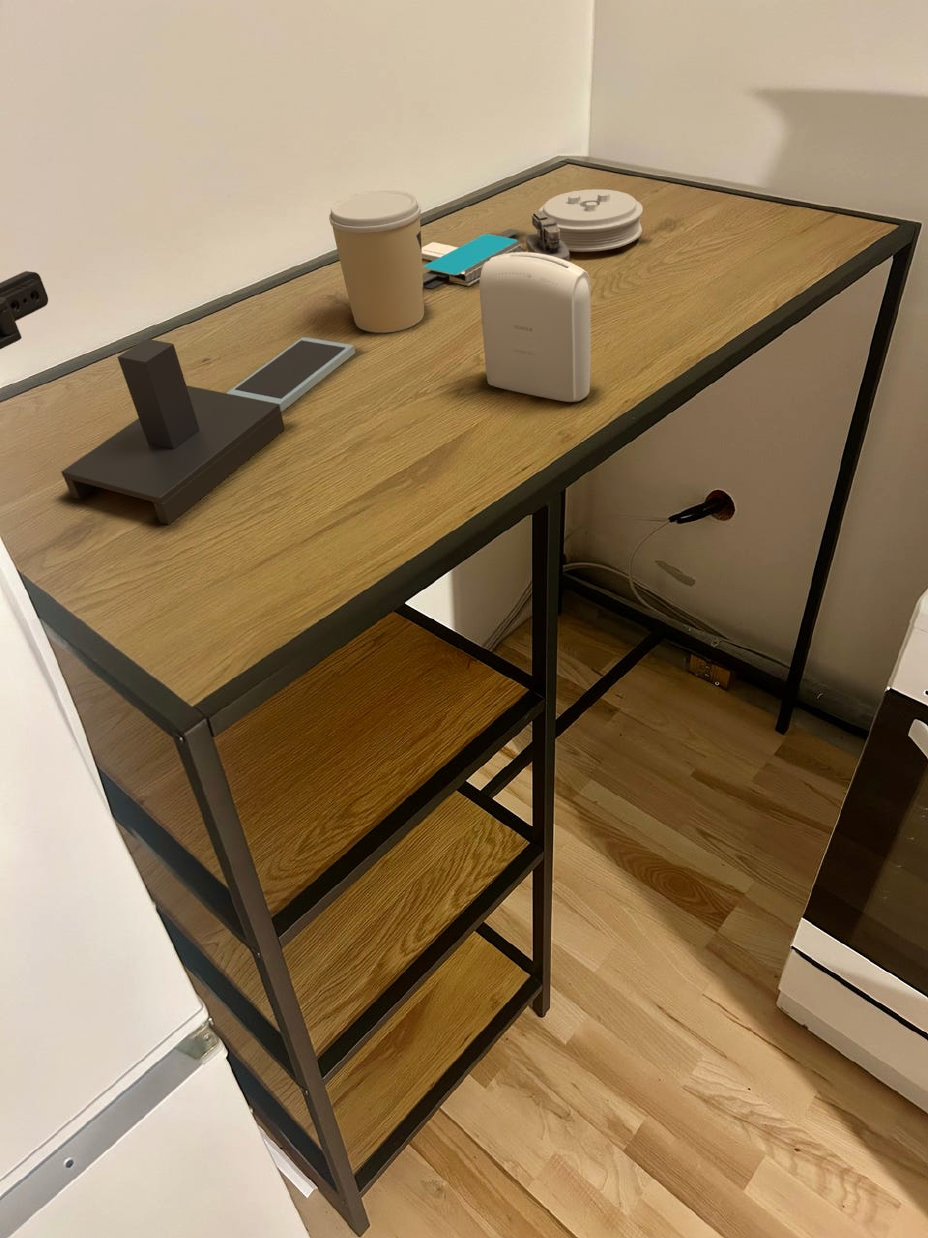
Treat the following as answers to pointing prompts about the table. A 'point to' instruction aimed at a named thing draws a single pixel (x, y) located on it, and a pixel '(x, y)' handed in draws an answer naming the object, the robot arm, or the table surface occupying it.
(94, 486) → the cover
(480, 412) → the table surface
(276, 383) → the phone
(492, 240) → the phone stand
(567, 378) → the photo printer
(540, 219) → the lighter
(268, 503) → the table surface
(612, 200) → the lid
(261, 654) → the table surface
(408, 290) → the coffee cup
